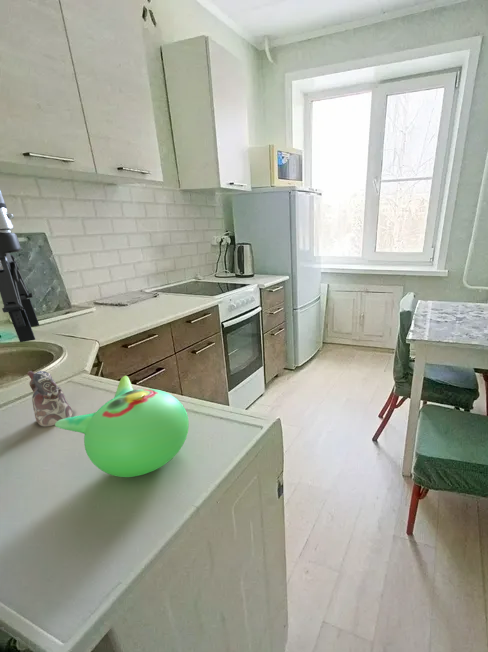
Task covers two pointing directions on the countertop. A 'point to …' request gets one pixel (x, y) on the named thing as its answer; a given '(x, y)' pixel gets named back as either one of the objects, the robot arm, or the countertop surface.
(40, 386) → the figurine
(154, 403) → the toy bird
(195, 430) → the countertop surface
